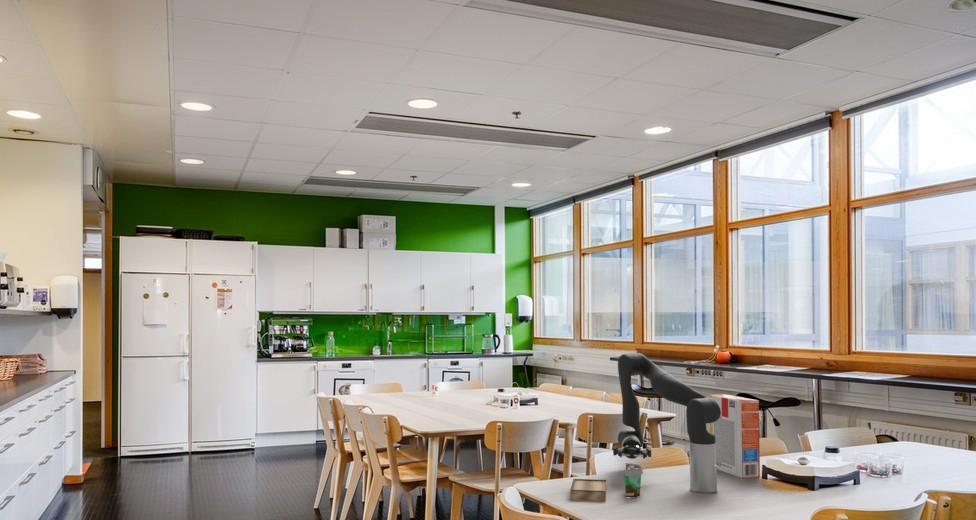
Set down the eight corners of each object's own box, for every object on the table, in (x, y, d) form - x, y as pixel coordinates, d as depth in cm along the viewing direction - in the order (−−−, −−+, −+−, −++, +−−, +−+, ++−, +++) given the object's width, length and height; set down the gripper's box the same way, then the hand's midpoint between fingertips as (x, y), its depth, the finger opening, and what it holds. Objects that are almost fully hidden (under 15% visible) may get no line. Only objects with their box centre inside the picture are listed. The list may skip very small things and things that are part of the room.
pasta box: (760, 477, 307) (758, 400, 309) (742, 478, 305) (741, 401, 307) (726, 465, 329) (725, 394, 331) (709, 466, 327) (708, 394, 329)
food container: (643, 499, 269) (642, 470, 270) (625, 498, 270) (625, 469, 271) (643, 491, 281) (643, 463, 282) (626, 490, 283) (625, 462, 283)
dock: (606, 489, 284) (606, 479, 285) (605, 501, 267) (605, 491, 267) (573, 488, 286) (573, 478, 287) (570, 499, 269) (570, 489, 269)
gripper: (613, 436, 308) (613, 444, 292) (650, 438, 305) (652, 446, 289) (613, 455, 307) (613, 464, 291) (649, 457, 305) (651, 466, 289)
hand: (632, 455), depth 290 cm, fingers open, 8 cm apart
